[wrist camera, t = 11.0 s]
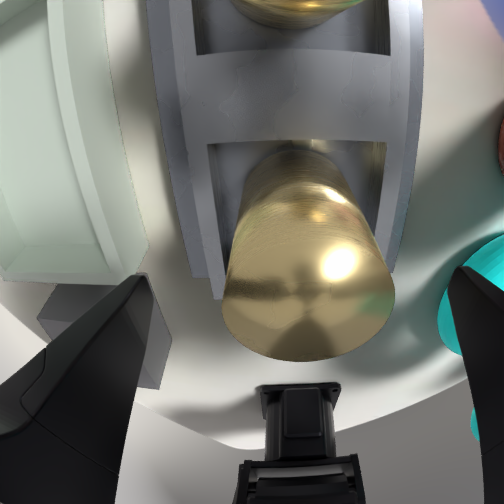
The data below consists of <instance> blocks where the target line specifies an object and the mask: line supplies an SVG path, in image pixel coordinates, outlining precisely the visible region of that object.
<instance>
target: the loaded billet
mask: <svg viewBox="0 0 504 504" xmlns="http://www.w3.org/2000/svg"><path fill="white" fill-rule="evenodd" d="M230 1H231V2H232V4H233V5H234V6H235V7H236V8H237V9H238V10H239V11H240V12H241V13H243V14H244V15H245V16H247V17H248V18H250V19H252V20H254V21H256V22H258V23H260V24H263V25H266V26H270V27H274V28H280V29H303V28H309V27H312V26H316V25H319V24H321V23H323V22H325V21H327V20H329V19H331V18H332V17H334V16H336V15H338V14H339V13H341V12H343V11H345V10H347V9H349V8H350V7H352V6H354V5H356V4H358V3H360V2H362V1H364V0H230Z"/></svg>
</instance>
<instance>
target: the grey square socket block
mask: <svg viewBox="0 0 504 504" xmlns="http://www.w3.org/2000/svg"><path fill="white" fill-rule="evenodd" d="M136 274H142V275H145V276H146V278H147V280H148V283H149V285H150V288H151V291H152V294H153V297H154V305H153V311H152V317H151V323H150V329H149V336H148V342H147V348H146V352H145V357H144V361H143V364H142V368H141V372H140V376H139V380H138V385H137V387H141V388H149V389H157V390H159V388H160V384H161V380H162V376H163V372H164V369H165V365H166V361H167V357H168V353H169V350H170V346H171V342H172V338H171V336H170V334H169V331H168V329H167V326H166V324H165V321H164V319H163V316H162V313H161V311H160V308H159V306H158V303H157V300H156V298H155V295H154V292H153V290H152V287H151V284H150V281H149V278H148V276H147V273H136ZM116 286H118V285H93V284H63V283H58V285H57V286H56V288H55V289H54V291H53V292H52V294H51V296H50V297H49V299H48V300H47V302H46V303H45V305H44V307H43V308H42V310H41V311H40V313H39V315H38V316H37V319H38V321H39V322H40V324H41V325H42V327H43V328H44V330H45V331H46V332H47V334H48V335H49V337H50V338H51V339H52V341H53V340H54V339H55V338H56V337H57V336H58V335H59V334H61V333H62V332H63V331H64V330H65V329H66V328H67V327H69V326H70V325H71V324H72V323H73V322H74V321H76V320H77V319H78V318H79V317H80V316H81V315H83V314H84V313H85V312H86V311H87V310H89V309H90V308H91V307H92V306H93V305H95V304H96V303H97V302H98V301H99V300H101V299H102V298H103V297H104V296H105V295H107V294H108V293H109V292H110V291H112V290H113V289H114V288H115V287H116Z"/></svg>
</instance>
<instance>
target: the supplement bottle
mask: <svg viewBox="0 0 504 504" xmlns="http://www.w3.org/2000/svg"><path fill="white" fill-rule="evenodd" d="M498 155H499V163H500V167H501V171H502V174H503V176H504V119H503V122H502V125H501V129H500V135H499V143H498Z"/></svg>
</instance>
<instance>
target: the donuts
mask: <svg viewBox="0 0 504 504" xmlns="http://www.w3.org/2000/svg"><path fill="white" fill-rule="evenodd" d="M462 266H469V267H471V268H472V269H474V270H475V271H477V272H478V273H479V274H481V275H482V276H484V277H485V278H486V279H488V280H489V281H491V282H492V283H493V284H495V285H496V286H497V287H499V288H500V289H501V290H503V291H504V235H502V236H499V237H497V238H495V239H494V240H492V241H490V242H489V243H487V244H486V245H484V246H483V247H481V248H480V249H479V250H478V251H476V252H475V253H474V254H473V255H472V256H471V257H470V258H469V259H468V260H467V261H466V262H465V263H464V264H463V265H462ZM447 288H448V287H447ZM447 288H446V290H445V292H444V295H443V297H442V300H441V302H440V306H439V310H438V317H437V324H438V331H439V335H440V337H441V339H442V341H443V343H444V344H445V345H446V347H448V348H449V349H450V350H451V351H453V352H454V353H457V354H459V355H462V353H461V350H460V346H459V343H458V339H457V335H456V330H455V326H454V321H453V316H452V312H451V308H450V303H449V299H448V295H447ZM471 429H472V433H473V435H474V436H475V438H476V439H477V440H478V441H480V440H479V433H478V426H477V420H476V414H475V409H474V408H473V412H472V415H471Z"/></svg>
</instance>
